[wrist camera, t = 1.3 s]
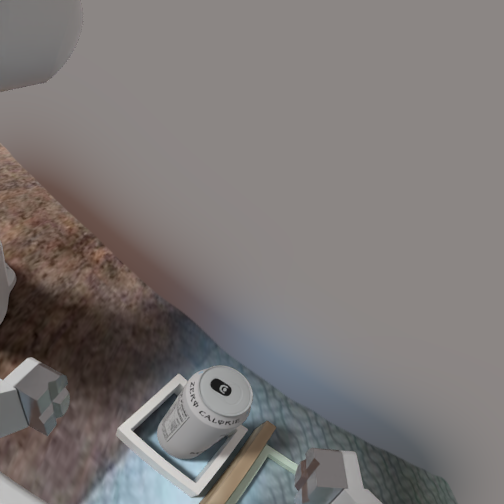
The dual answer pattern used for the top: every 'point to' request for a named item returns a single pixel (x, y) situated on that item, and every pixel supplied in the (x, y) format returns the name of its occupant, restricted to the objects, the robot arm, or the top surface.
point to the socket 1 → (159, 462)
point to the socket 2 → (265, 453)
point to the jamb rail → (239, 465)
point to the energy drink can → (205, 411)
